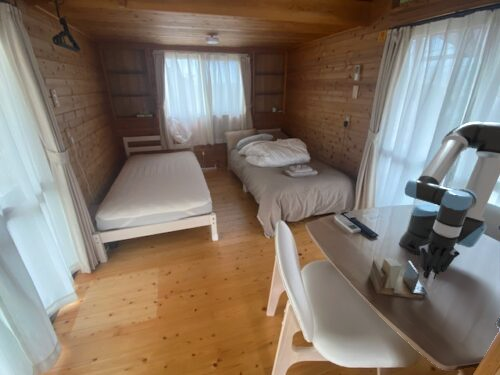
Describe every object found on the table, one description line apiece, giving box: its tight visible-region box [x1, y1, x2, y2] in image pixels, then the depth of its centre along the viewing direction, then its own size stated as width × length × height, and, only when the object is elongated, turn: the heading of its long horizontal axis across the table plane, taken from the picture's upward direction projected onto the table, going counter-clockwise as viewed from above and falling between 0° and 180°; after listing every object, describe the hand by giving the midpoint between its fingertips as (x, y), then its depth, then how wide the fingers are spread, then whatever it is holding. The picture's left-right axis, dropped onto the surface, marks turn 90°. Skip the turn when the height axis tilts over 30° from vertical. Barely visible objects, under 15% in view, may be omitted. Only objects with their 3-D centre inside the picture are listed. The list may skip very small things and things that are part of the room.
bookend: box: [402, 260, 429, 296], centre depth 94 cm, size 6×8×9 cm
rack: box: [369, 259, 423, 300], centre depth 96 cm, size 16×10×8 cm, turn 80°
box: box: [380, 257, 402, 288], centre depth 95 cm, size 5×4×11 cm
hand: (426, 284), depth 95 cm, fingers closed
